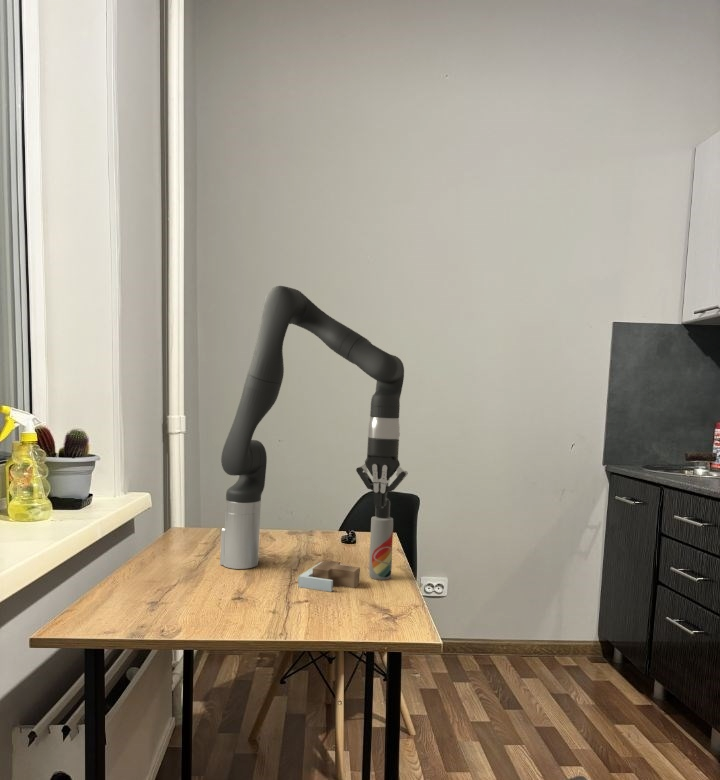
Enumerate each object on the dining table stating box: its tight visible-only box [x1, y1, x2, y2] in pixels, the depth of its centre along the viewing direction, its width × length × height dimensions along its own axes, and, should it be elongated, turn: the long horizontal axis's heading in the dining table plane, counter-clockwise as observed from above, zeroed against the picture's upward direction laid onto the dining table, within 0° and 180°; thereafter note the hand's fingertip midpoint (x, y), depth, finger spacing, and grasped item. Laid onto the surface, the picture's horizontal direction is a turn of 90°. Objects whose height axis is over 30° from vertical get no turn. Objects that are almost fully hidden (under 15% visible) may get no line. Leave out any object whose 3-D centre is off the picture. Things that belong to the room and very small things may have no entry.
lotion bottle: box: [368, 498, 394, 581], centre depth 149 cm, size 6×6×20 cm
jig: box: [297, 561, 349, 593], centre depth 143 cm, size 8×14×2 cm, turn 161°
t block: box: [312, 559, 361, 589], centre depth 142 cm, size 10×8×4 cm
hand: (379, 507), depth 140 cm, fingers closed
